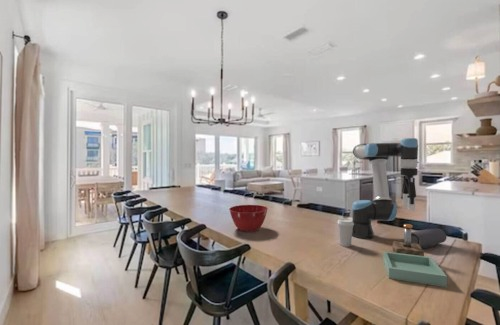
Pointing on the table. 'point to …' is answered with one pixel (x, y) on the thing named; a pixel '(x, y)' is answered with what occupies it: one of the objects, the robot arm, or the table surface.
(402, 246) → the wooden socket block
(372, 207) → the robot arm
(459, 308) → the table surface
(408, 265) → the parts tray
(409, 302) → the table surface
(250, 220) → the mixing bowl
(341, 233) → the coffee cup
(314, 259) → the table surface
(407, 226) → the pin
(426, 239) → the bluetooth speaker
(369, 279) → the table surface
